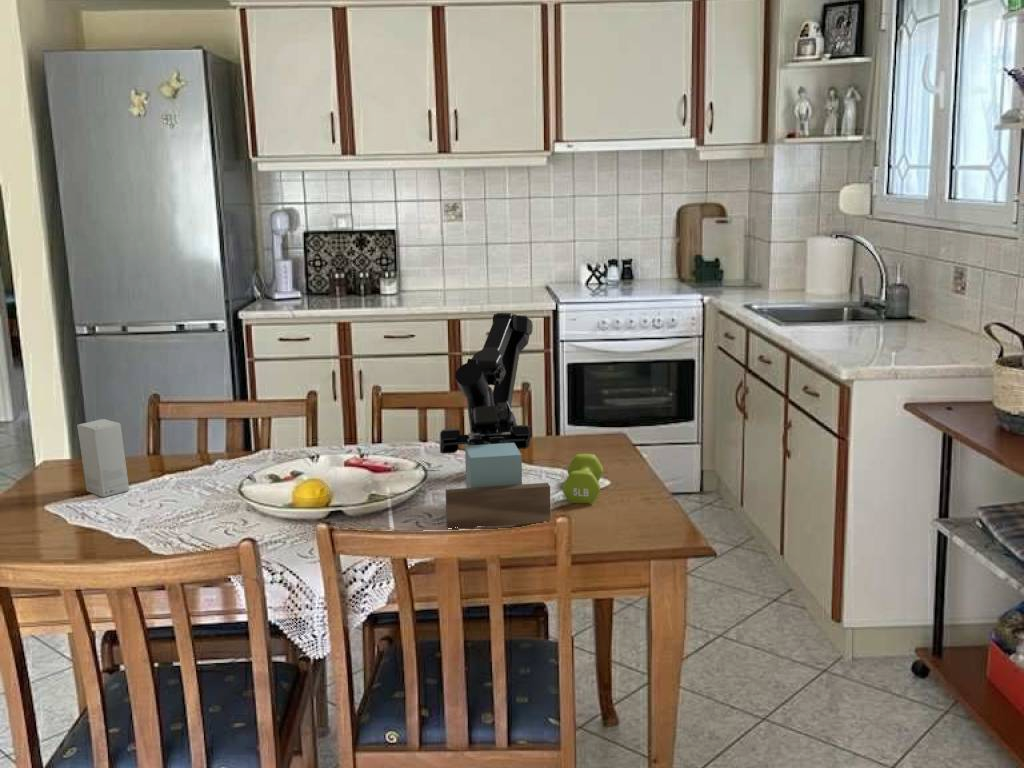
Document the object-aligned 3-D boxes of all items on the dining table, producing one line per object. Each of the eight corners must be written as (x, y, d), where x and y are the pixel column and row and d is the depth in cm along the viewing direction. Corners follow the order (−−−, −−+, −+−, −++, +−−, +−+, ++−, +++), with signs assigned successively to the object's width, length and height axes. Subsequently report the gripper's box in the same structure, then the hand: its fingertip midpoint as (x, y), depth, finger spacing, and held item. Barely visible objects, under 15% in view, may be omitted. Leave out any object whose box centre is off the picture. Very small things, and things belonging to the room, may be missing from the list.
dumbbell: (599, 508, 202) (599, 474, 201) (561, 507, 204) (560, 473, 202) (604, 484, 218) (604, 452, 217) (568, 483, 219) (568, 451, 218)
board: (446, 529, 192) (445, 489, 190) (548, 521, 195) (547, 482, 193) (447, 533, 189) (446, 493, 188) (550, 525, 192) (550, 486, 191)
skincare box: (129, 491, 219) (122, 423, 216) (100, 498, 214) (93, 429, 211) (112, 484, 225) (105, 417, 221) (83, 491, 220) (75, 423, 217)
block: (466, 507, 202) (465, 445, 199) (515, 503, 203) (514, 442, 201) (472, 522, 193) (470, 457, 190) (522, 518, 194) (521, 454, 192)
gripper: (438, 391, 202) (445, 458, 193) (529, 387, 205) (539, 452, 196) (436, 420, 211) (443, 485, 203) (523, 415, 214) (532, 479, 205)
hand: (489, 475), depth 201 cm, fingers closed, pressing on block
